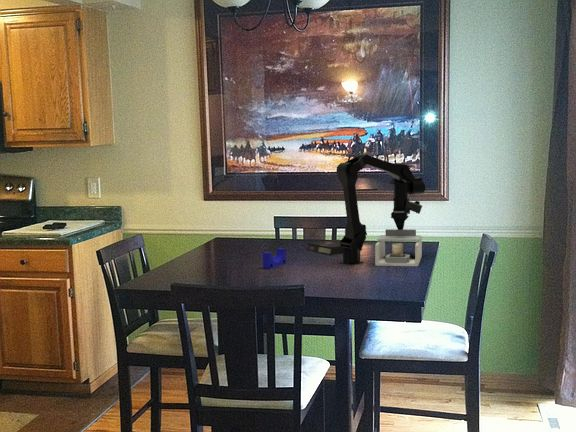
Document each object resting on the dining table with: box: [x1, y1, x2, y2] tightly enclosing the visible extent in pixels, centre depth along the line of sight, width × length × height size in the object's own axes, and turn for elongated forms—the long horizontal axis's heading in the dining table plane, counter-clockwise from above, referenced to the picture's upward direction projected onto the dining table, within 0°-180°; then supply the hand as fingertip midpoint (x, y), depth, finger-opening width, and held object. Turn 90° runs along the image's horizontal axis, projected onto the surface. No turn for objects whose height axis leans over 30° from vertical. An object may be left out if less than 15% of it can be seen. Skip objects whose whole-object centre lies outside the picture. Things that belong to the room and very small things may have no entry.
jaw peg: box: [391, 242, 404, 257], centre depth 272 cm, size 4×4×6 cm
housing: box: [374, 236, 423, 267], centre depth 279 cm, size 24×16×8 cm, turn 166°
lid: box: [377, 228, 422, 242], centre depth 280 cm, size 11×16×3 cm
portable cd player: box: [307, 239, 363, 256], centre depth 306 cm, size 16×17×4 cm
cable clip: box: [262, 247, 287, 269], centre depth 276 cm, size 12×4×6 cm, turn 149°
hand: (400, 233), depth 287 cm, fingers closed
